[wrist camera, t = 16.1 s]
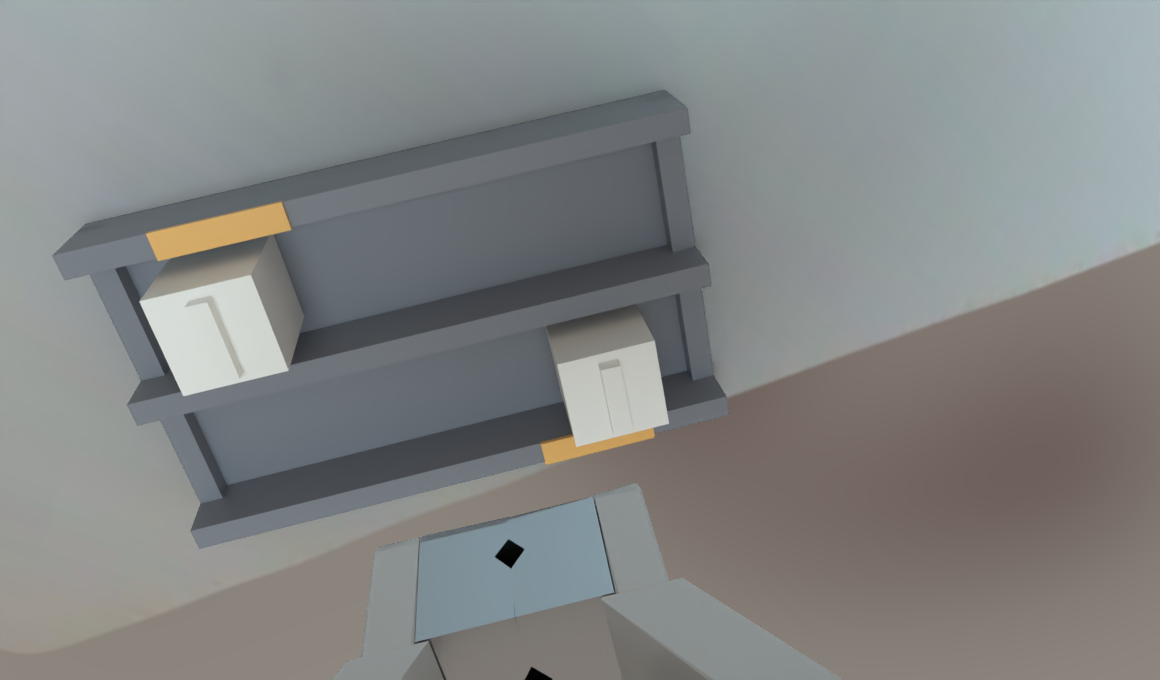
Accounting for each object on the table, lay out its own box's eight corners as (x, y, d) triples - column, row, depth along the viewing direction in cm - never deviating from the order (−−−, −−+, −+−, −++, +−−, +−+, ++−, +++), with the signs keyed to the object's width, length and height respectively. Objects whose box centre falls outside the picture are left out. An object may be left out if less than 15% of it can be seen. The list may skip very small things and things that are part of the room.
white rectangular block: (272, 229, 36) (248, 281, 31) (304, 316, 38) (286, 378, 33) (174, 252, 36) (134, 308, 31) (211, 338, 38) (179, 404, 33)
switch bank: (664, 88, 37) (688, 107, 34) (706, 378, 44) (730, 418, 40) (84, 222, 36) (49, 256, 32) (216, 501, 42) (198, 552, 39)
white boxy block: (629, 291, 40) (658, 347, 35) (643, 368, 42) (672, 431, 37) (542, 313, 40) (559, 371, 35) (560, 389, 42) (578, 455, 37)
